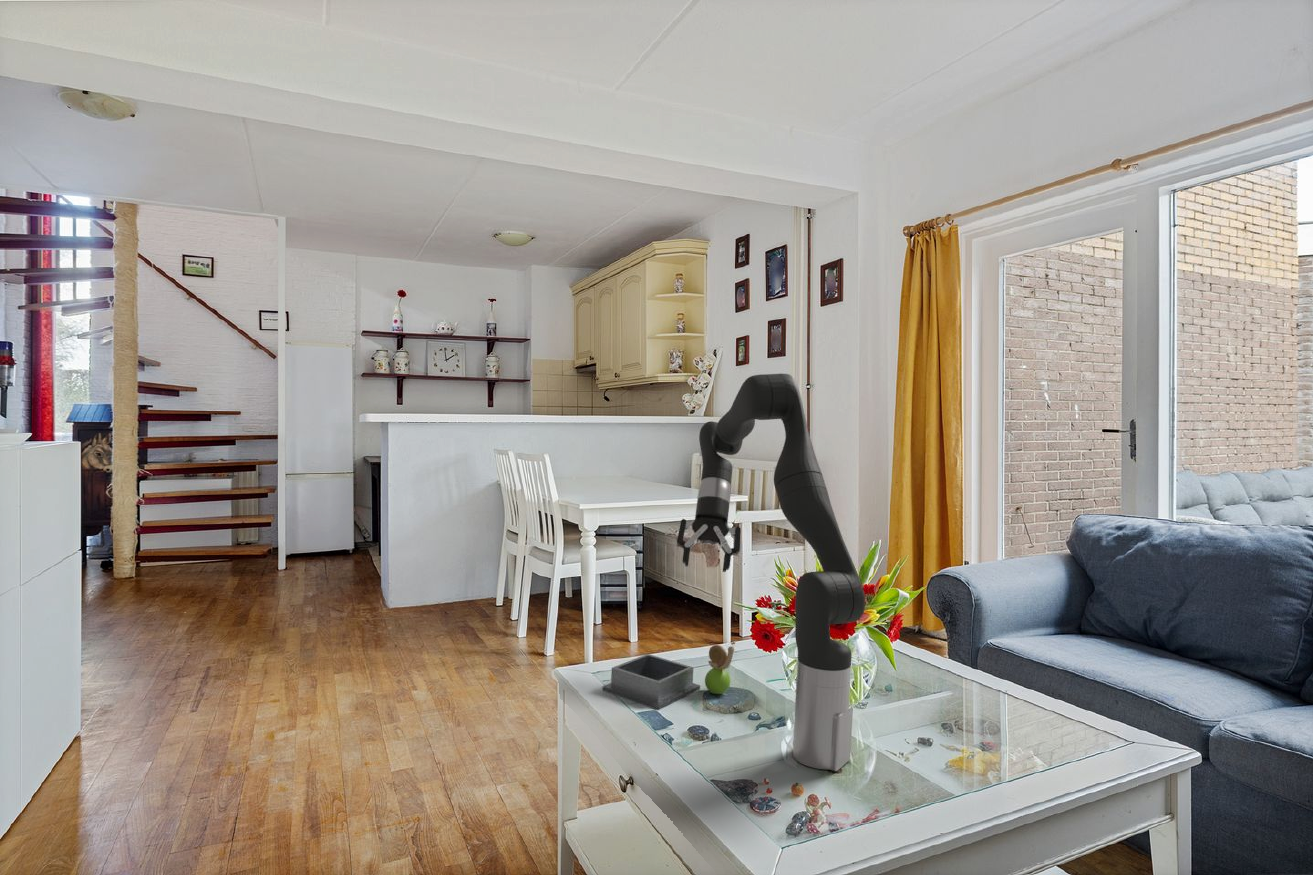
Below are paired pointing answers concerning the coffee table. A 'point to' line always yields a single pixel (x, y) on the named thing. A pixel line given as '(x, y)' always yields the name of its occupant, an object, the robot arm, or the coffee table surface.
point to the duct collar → (652, 681)
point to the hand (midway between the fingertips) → (705, 568)
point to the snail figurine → (719, 669)
